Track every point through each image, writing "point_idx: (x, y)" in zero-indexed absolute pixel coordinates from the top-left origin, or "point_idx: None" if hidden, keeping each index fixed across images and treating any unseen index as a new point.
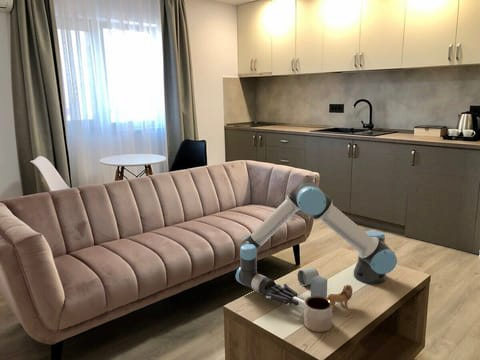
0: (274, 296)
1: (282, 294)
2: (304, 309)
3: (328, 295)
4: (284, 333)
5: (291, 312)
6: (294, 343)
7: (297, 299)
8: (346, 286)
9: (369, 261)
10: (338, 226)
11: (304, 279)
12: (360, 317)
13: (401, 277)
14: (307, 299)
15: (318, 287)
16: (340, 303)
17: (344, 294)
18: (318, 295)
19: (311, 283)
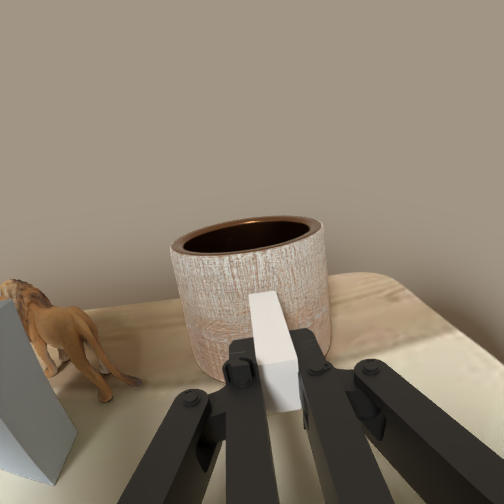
0: (484, 454)
1: (363, 451)
2: (315, 283)
3: (70, 327)
4: (447, 347)
5: (298, 481)
6: (426, 306)
7: (281, 328)
8: (13, 282)
9: None
10: None
11: None
12: (111, 320)
13: None
14: (267, 246)
15: (20, 347)
16: (53, 366)
17: (47, 301)
18: (48, 398)
19: None
